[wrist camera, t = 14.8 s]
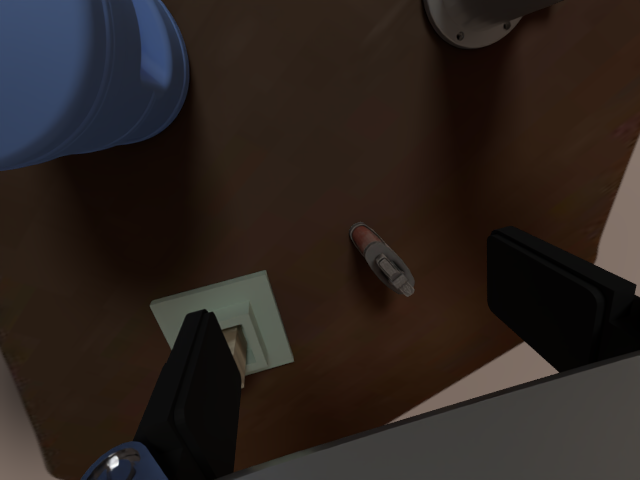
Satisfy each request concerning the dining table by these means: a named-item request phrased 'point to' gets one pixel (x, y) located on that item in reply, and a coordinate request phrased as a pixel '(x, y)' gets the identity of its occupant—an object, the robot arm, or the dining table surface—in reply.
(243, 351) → the birch peg
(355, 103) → the dining table surface
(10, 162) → the water jug
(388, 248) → the lighter
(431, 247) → the dining table surface
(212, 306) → the slot holder
